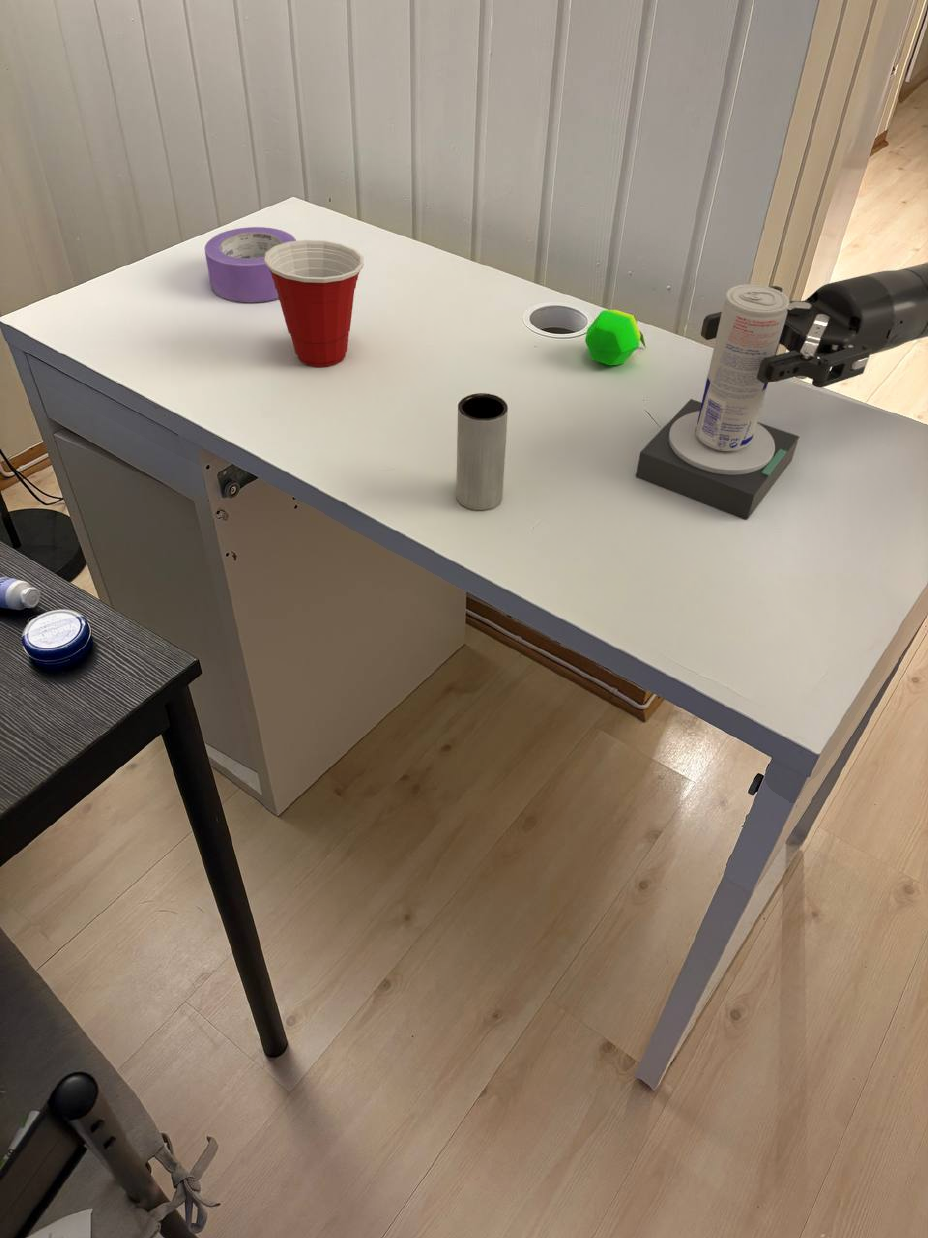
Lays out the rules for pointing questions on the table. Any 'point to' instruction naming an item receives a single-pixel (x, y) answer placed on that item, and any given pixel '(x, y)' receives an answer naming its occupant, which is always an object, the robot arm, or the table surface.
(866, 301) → the robot arm
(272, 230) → the tape roll
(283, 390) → the table surface
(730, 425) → the beverage can
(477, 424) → the grey cylindrical tube
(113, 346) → the table surface
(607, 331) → the apple
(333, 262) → the plastic cup
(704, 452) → the scale
